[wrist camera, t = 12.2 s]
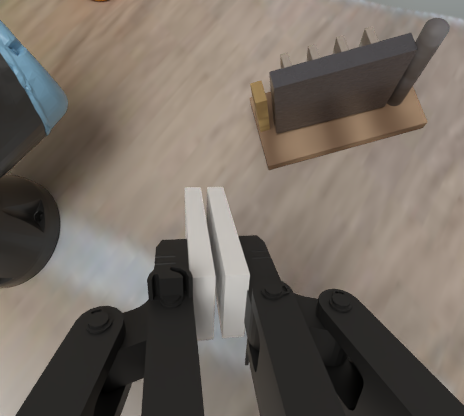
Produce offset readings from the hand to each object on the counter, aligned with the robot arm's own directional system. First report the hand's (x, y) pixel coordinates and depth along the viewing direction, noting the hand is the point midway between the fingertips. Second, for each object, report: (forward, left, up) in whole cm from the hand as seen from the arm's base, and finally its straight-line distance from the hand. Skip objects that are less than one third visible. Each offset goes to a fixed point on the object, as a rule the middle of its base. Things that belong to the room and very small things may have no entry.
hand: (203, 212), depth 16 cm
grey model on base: (0, +20, -24) cm, 32 cm away
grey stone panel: (0, +19, -22) cm, 29 cm away
